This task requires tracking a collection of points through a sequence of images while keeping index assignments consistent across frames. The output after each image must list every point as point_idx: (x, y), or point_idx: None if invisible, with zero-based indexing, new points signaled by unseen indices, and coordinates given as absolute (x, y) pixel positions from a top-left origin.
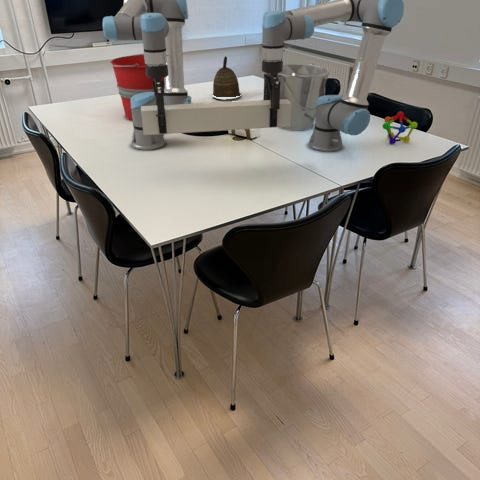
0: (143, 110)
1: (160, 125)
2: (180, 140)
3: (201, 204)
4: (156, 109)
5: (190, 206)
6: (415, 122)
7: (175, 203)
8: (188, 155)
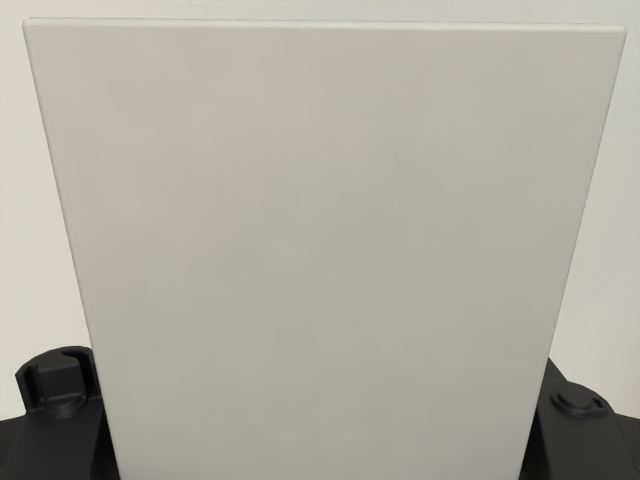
0: (73, 114)
1: None
2: None
3: (31, 287)
4: (169, 445)
5: (9, 243)
6: None
7: (36, 181)
8: (599, 282)
